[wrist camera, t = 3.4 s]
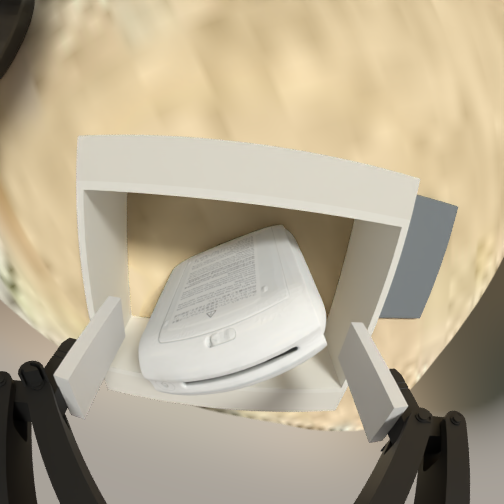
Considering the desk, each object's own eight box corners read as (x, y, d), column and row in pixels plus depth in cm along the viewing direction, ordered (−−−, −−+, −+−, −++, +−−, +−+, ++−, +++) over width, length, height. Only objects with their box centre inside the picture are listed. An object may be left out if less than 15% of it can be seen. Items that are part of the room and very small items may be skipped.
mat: (362, 314, 26) (364, 317, 25) (398, 190, 21) (401, 191, 21) (418, 316, 26) (419, 318, 26) (455, 205, 22) (457, 206, 21)
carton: (130, 338, 26) (107, 389, 20) (124, 133, 19) (77, 135, 13) (319, 357, 28) (335, 410, 21) (371, 164, 20) (420, 178, 14)
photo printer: (190, 304, 25) (161, 421, 13) (167, 263, 23) (113, 370, 12) (303, 262, 24) (351, 371, 12) (285, 214, 22) (331, 302, 10)
